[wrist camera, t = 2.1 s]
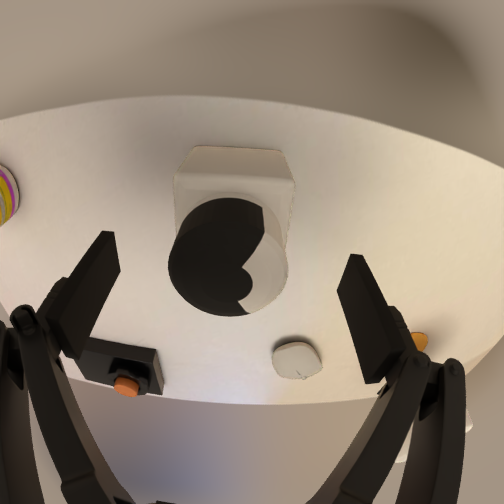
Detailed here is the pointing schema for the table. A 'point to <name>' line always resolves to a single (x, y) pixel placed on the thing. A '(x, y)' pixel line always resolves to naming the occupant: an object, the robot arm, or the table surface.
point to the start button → (126, 387)
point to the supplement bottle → (7, 195)
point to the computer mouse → (296, 361)
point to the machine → (121, 365)
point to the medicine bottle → (231, 228)
